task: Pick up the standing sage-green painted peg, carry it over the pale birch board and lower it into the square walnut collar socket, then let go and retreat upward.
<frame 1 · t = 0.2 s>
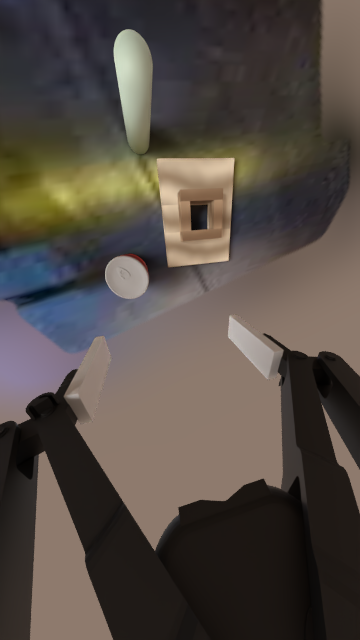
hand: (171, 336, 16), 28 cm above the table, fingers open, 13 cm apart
peg: (138, 140, 29), on the table
socket board: (196, 218, 36), on the table
canned food: (132, 270, 39), on the table
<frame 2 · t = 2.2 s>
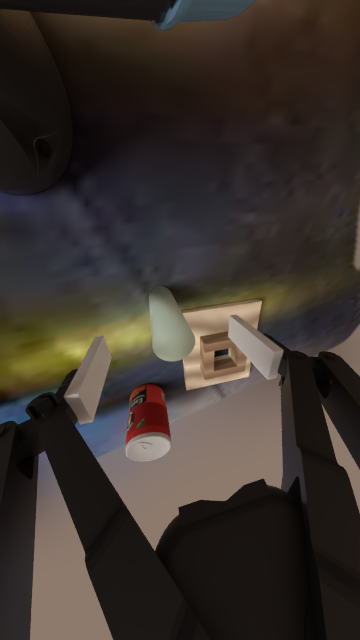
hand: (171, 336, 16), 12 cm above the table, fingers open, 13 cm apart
peg: (160, 297, 27), on the table
socket board: (218, 347, 34), on the table
canned food: (147, 394, 36), on the table
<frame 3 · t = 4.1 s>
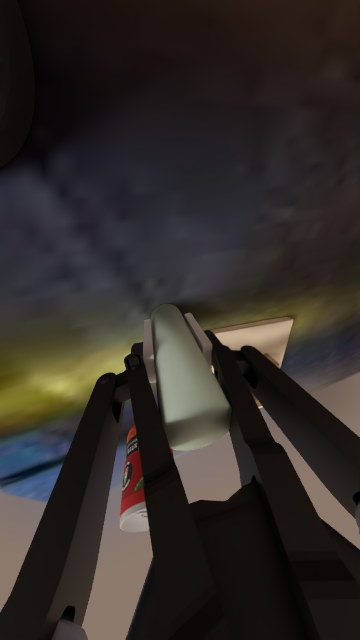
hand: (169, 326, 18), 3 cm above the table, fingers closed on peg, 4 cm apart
peg: (166, 317, 20), on the table, touching gripper
socket board: (235, 373, 28), on the table
canned food: (149, 429, 30), on the table
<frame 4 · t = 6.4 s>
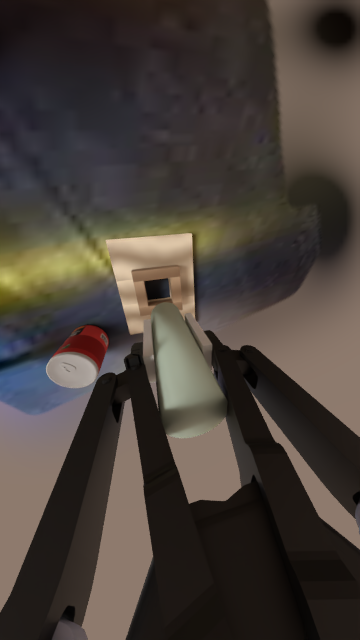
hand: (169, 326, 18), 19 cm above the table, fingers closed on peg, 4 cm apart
peg: (165, 316, 21), point 15 cm above the table, touching gripper
socket board: (157, 287, 35), on the table
canned food: (91, 338, 37), on the table
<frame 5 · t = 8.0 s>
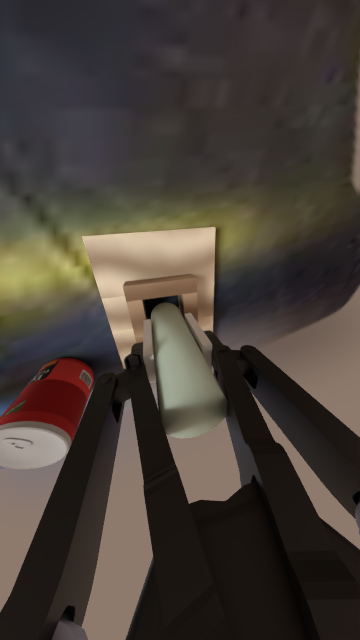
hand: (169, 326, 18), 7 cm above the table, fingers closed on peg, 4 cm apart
peg: (165, 316, 21), point 4 cm above the table, touching gripper
socket board: (162, 305, 24), on the table
canned food: (70, 373, 26), on the table
when the fingers open (5 cm above the table, at t = 9.1 s): peg stays where it is, resting in socket board.
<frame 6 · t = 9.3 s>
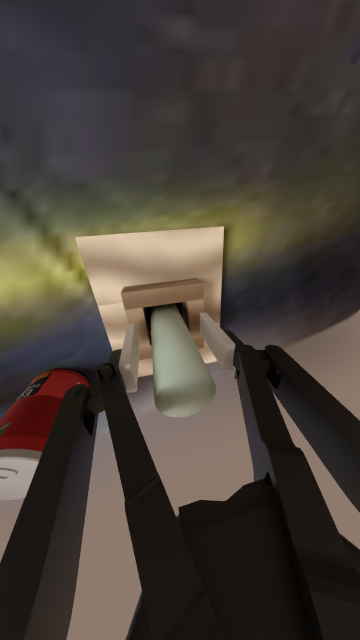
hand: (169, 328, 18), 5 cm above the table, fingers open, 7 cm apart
peg: (164, 312, 22), resting in socket board
socket board: (164, 312, 22), on the table
canned food: (64, 385, 24), on the table
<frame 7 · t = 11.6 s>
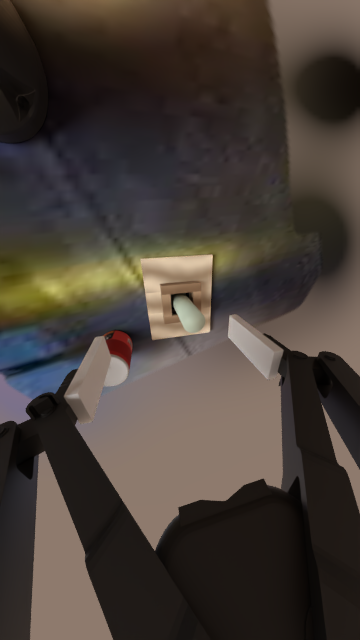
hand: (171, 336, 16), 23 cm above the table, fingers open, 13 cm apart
peg: (178, 299, 39), resting in socket board
socket board: (179, 299, 39), on the table
canned food: (117, 342, 41), on the table
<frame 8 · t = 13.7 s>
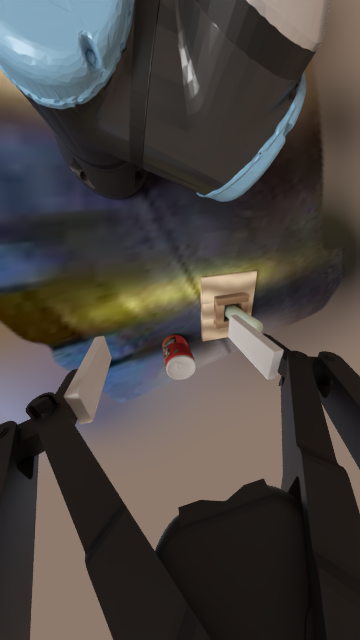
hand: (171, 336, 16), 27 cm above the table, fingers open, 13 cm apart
peg: (225, 307, 47), resting in socket board
socket board: (226, 307, 47), on the table
canned food: (174, 344, 49), on the table
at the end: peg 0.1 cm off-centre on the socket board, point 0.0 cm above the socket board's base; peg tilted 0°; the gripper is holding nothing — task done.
